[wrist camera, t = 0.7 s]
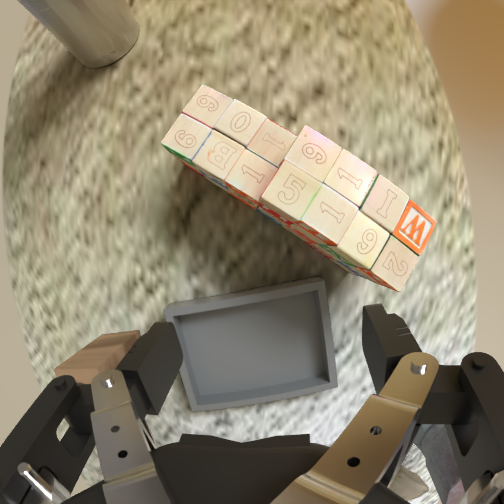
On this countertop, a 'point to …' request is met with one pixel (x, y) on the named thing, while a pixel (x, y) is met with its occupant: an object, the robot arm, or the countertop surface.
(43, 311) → the countertop surface
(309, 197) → the stack of blocks
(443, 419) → the robot arm
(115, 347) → the walnut block
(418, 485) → the ceramic sculpture
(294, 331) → the charcoal tray
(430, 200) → the countertop surface
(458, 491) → the moka pot
